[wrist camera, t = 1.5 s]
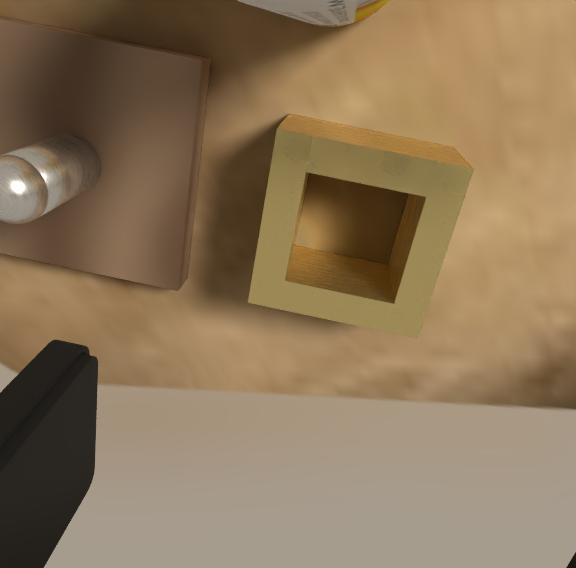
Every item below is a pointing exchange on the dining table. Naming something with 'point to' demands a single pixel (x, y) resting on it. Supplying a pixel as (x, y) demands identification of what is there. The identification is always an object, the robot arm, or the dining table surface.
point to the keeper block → (99, 152)
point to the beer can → (321, 10)
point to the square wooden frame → (346, 270)
